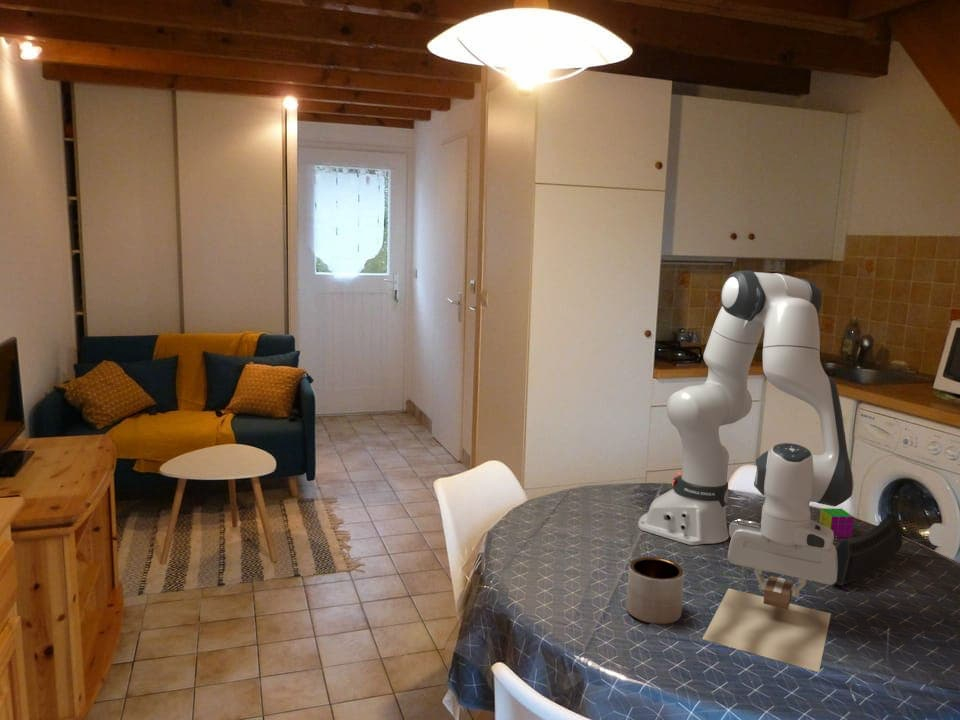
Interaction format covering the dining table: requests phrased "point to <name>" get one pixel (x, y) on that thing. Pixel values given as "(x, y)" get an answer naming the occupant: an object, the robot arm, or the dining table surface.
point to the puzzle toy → (837, 521)
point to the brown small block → (778, 592)
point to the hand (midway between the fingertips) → (778, 593)
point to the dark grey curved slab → (868, 550)
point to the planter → (655, 590)
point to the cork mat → (770, 629)
